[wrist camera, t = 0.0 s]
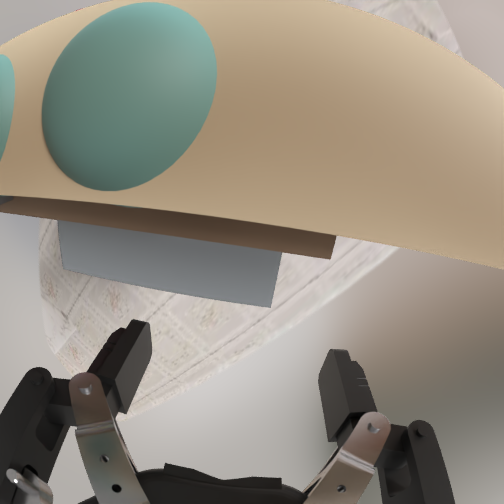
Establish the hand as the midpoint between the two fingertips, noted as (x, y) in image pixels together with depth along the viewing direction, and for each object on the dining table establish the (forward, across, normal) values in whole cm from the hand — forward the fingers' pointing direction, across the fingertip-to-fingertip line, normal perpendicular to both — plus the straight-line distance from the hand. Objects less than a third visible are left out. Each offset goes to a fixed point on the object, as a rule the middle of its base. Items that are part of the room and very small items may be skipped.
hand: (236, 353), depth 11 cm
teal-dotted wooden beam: (-3, 0, -9) cm, 9 cm away
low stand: (+29, +6, -2) cm, 30 cm away
